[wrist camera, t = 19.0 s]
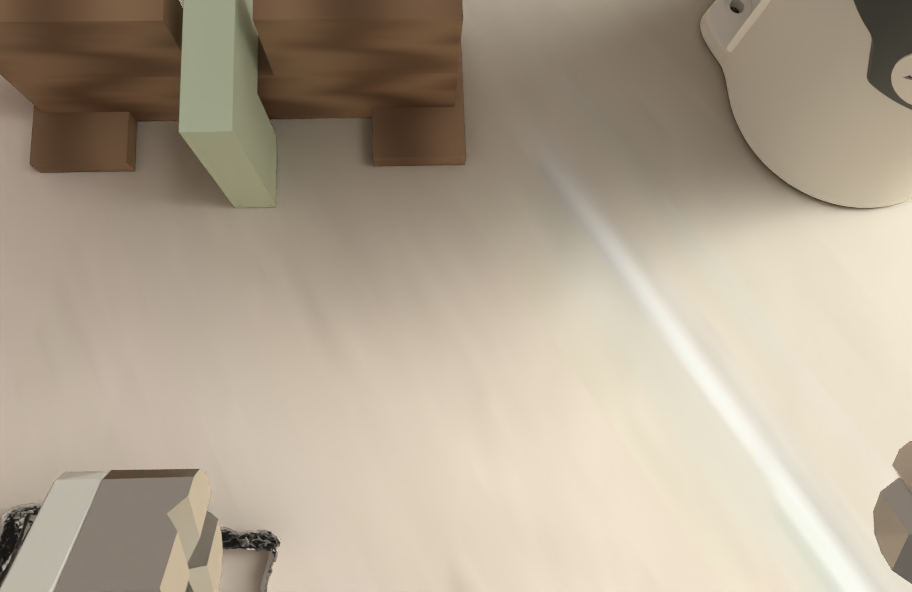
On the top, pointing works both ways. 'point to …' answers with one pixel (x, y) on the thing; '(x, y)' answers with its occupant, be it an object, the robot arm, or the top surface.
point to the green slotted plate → (226, 101)
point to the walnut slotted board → (279, 73)
